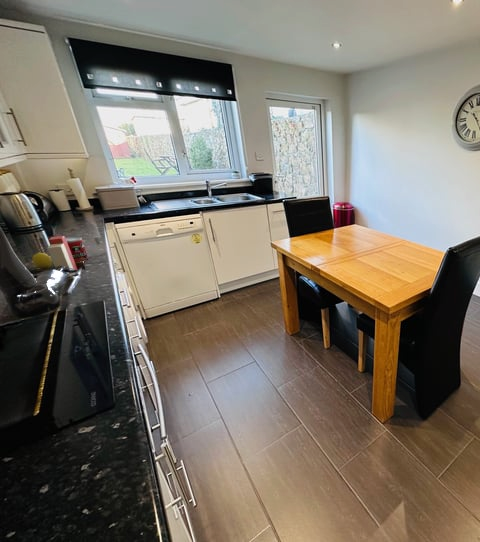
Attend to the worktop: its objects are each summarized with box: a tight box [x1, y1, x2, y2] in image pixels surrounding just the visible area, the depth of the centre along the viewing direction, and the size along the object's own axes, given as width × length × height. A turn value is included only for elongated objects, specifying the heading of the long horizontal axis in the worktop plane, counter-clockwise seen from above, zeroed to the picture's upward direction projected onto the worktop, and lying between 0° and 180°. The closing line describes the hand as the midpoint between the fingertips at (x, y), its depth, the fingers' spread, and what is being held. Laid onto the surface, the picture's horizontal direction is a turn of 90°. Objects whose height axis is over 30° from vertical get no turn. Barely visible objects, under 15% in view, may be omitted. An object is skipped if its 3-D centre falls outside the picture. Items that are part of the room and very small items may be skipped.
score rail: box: [59, 261, 87, 296], centre depth 113 cm, size 8×30×4 cm, turn 35°
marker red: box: [48, 235, 78, 271], centre depth 117 cm, size 4×5×16 cm
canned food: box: [65, 236, 89, 262], centre depth 136 cm, size 8×8×11 cm
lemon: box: [32, 252, 53, 270], centre depth 125 cm, size 6×6×8 cm
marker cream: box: [46, 243, 75, 280], centre depth 114 cm, size 4×5×14 cm
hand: (60, 268), depth 111 cm, fingers closed
